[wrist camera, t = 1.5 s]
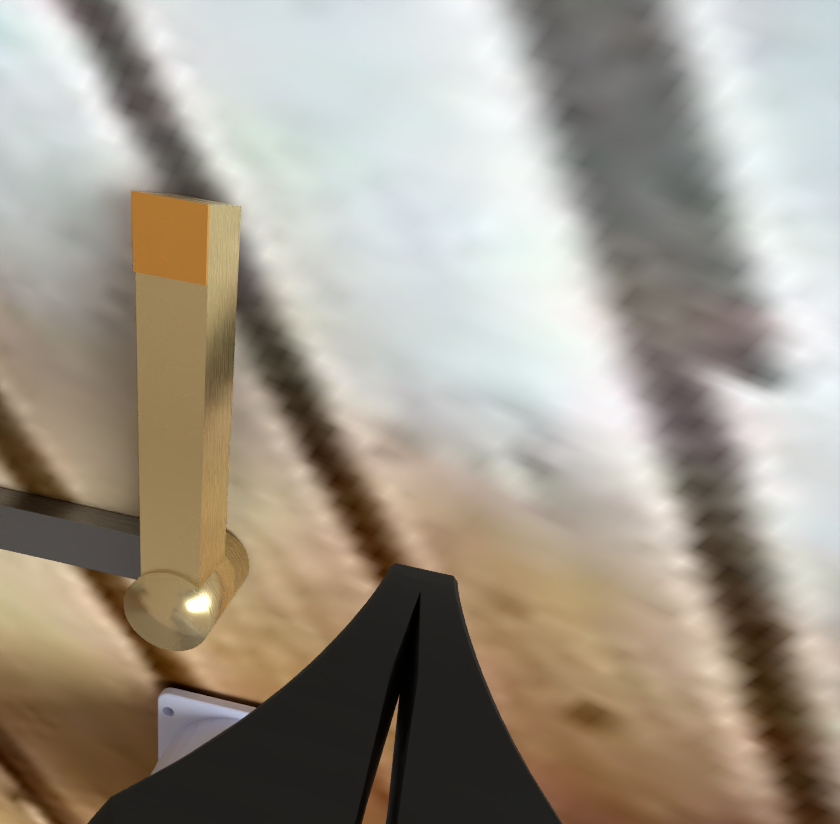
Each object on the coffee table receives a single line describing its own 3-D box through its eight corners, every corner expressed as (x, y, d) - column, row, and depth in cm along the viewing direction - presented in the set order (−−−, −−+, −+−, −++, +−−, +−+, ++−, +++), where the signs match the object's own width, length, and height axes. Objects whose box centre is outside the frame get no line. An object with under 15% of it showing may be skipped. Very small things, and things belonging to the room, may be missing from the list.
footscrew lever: (247, 599, 21) (208, 659, 18) (174, 583, 21) (124, 639, 19) (273, 209, 16) (225, 207, 13) (177, 192, 16) (109, 187, 13)
